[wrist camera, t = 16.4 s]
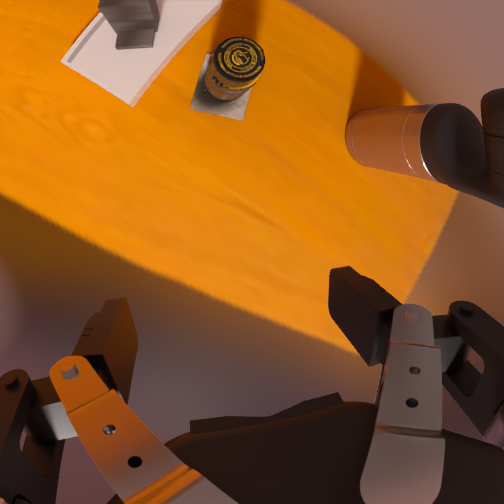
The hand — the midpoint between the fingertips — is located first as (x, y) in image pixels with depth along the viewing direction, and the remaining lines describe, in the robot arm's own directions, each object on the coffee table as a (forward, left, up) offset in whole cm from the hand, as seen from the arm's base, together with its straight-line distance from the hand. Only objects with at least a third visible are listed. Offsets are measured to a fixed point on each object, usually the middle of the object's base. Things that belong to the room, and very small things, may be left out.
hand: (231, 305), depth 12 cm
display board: (+7, -24, -32) cm, 41 cm away
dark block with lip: (+7, -23, -29) cm, 38 cm away
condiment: (-4, -14, -32) cm, 36 cm away
